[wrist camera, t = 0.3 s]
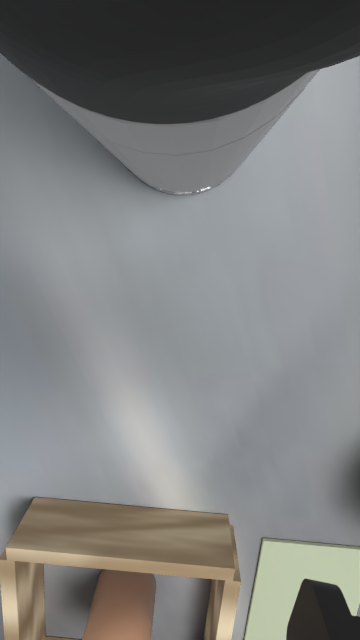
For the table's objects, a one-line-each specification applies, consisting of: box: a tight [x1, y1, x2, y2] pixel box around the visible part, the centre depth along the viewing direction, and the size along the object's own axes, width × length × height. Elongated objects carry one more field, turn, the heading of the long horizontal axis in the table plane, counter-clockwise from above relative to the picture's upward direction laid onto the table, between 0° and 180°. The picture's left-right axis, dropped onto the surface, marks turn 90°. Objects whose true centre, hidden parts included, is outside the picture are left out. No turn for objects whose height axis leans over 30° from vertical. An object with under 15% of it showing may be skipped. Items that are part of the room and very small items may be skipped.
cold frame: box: [0, 497, 241, 640], centre depth 31 cm, size 18×18×5 cm
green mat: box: [244, 538, 360, 640], centre depth 33 cm, size 14×10×1 cm
